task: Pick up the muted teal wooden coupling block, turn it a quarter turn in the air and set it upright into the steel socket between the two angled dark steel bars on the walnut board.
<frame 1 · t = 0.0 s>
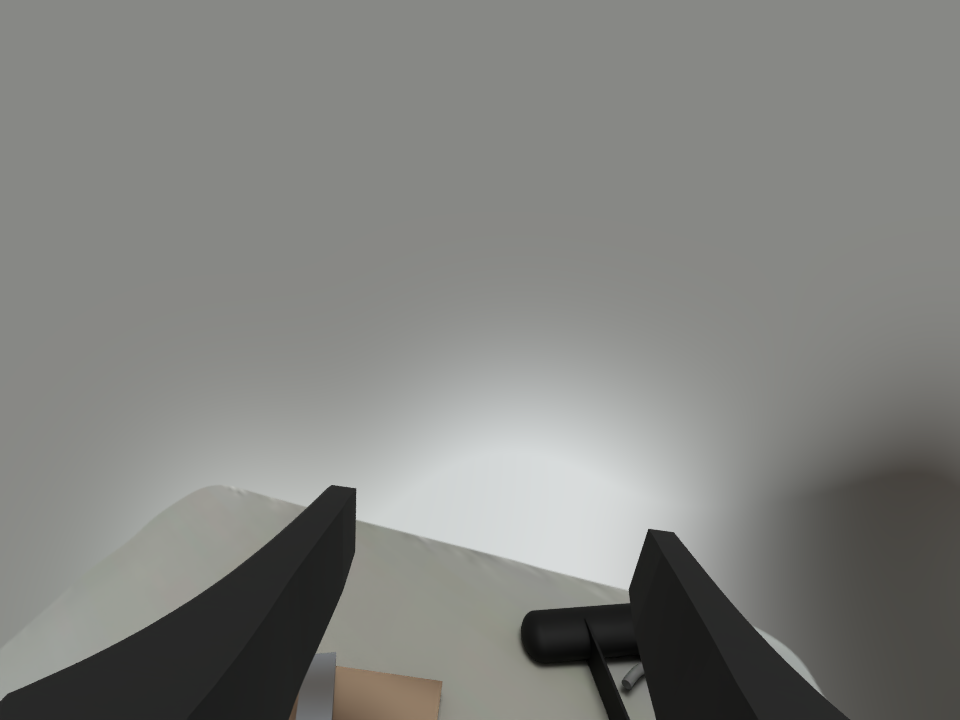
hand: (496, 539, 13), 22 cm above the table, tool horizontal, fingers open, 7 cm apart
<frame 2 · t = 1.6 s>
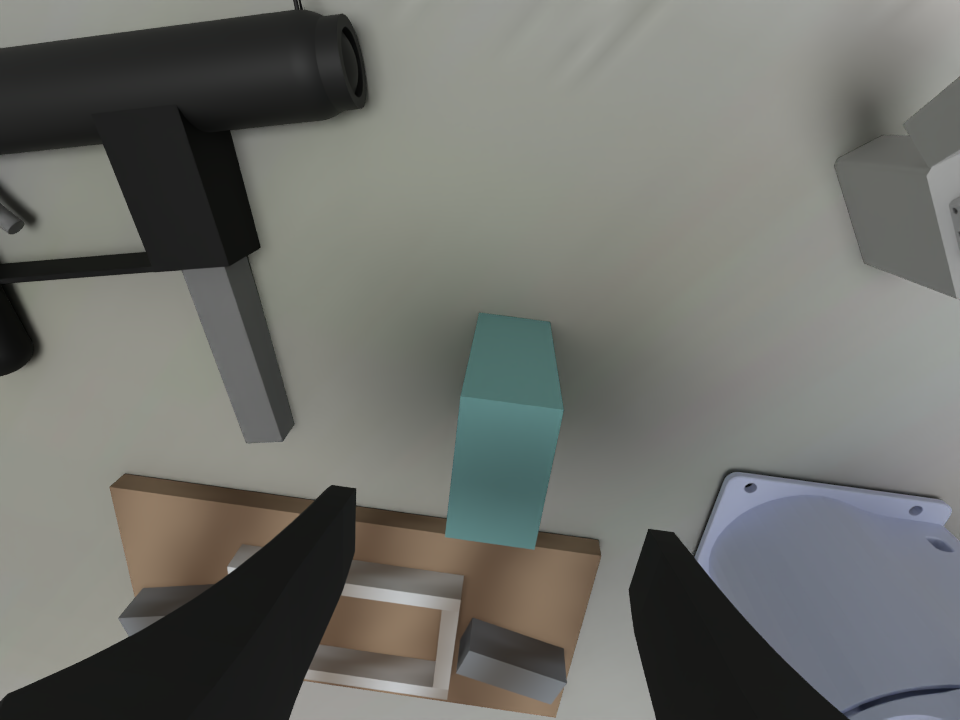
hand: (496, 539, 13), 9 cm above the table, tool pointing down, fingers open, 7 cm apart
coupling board: (357, 596, 27), on the table
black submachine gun: (155, 251, 21), on the table
lighter: (861, 162, 17), on the table
coupling block: (506, 373, 21), on the table
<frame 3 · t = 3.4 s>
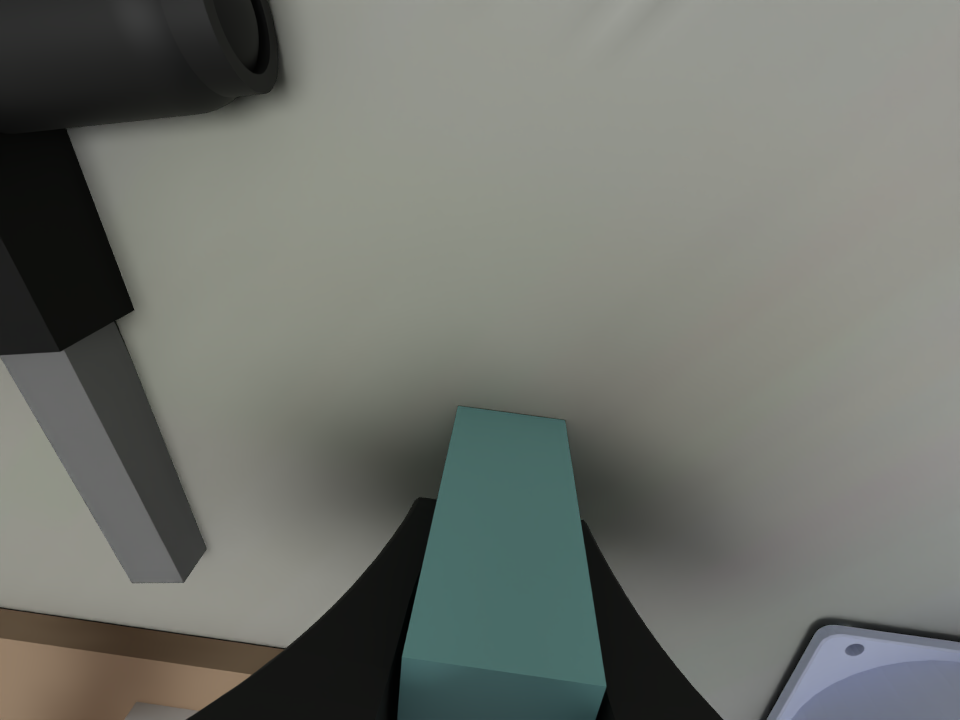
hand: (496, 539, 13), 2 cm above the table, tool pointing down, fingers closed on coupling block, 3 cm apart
coupling block: (499, 489, 14), on the table, touching gripper
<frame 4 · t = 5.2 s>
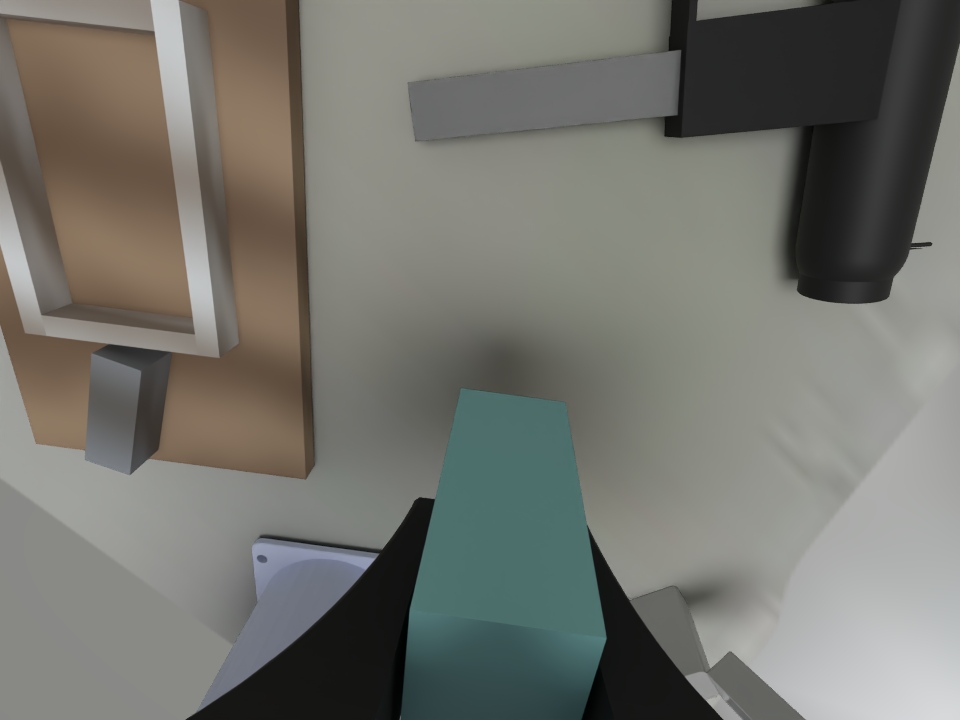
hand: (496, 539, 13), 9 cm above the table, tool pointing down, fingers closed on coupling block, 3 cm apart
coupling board: (141, 183, 19), on the table
lighter: (669, 597, 25), on the table
coupling block: (500, 472, 15), point 7 cm above the table, touching gripper
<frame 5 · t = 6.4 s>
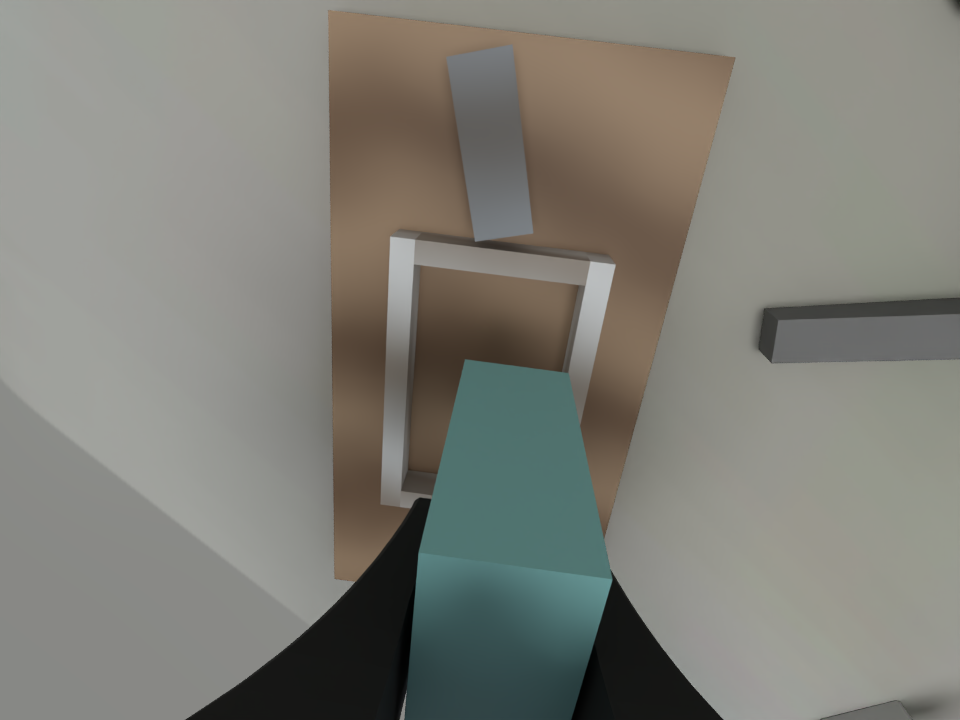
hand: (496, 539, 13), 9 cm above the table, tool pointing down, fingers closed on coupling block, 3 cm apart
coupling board: (487, 371, 21), on the table
lighter: (889, 708, 27), on the table
coupling block: (504, 444, 15), point 6 cm above the table, touching gripper
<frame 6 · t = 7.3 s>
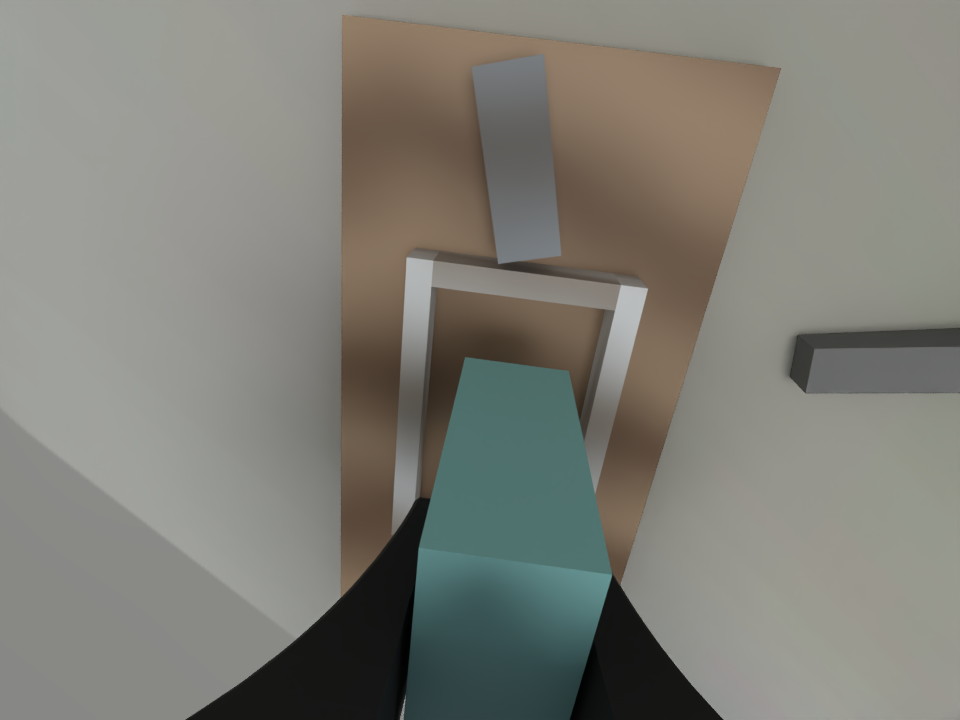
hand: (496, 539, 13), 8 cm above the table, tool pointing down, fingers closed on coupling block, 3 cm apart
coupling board: (504, 394, 20), on the table
coupling block: (504, 442, 15), point 5 cm above the table, touching gripper
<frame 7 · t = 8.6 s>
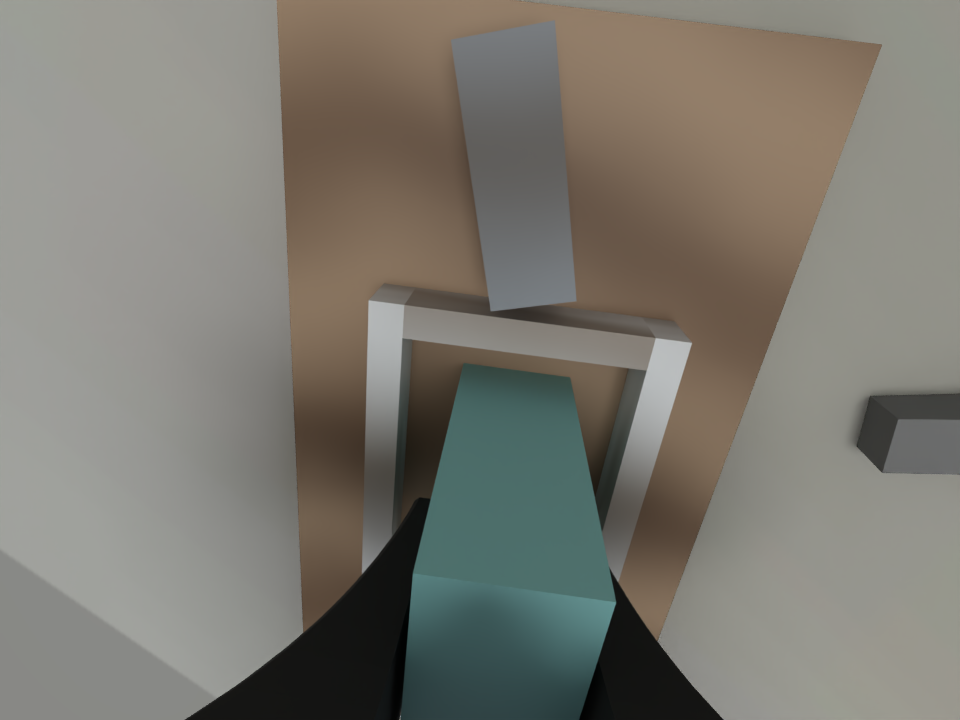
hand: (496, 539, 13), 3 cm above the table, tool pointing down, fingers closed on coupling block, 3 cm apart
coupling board: (501, 459, 16), on the table
coupling block: (503, 449, 14), point 1 cm above the table, touching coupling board, gripper
when the fingers open (3 cm above the table, at t = 9.3 s): coupling block stays where it is, resting on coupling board.
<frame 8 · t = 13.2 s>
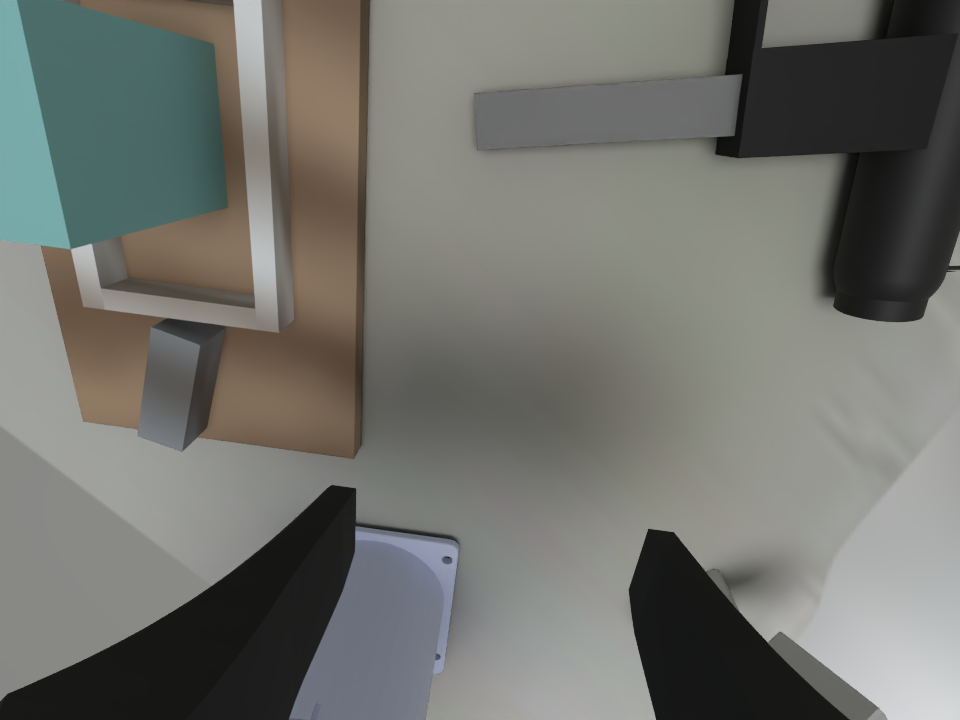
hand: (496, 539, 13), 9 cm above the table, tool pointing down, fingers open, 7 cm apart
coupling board: (201, 157, 19), on the table
lighter: (711, 580, 25), on the table
coupling block: (180, 125, 17), point 1 cm above the table, touching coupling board
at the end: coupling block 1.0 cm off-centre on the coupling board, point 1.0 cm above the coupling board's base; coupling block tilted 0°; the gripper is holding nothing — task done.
